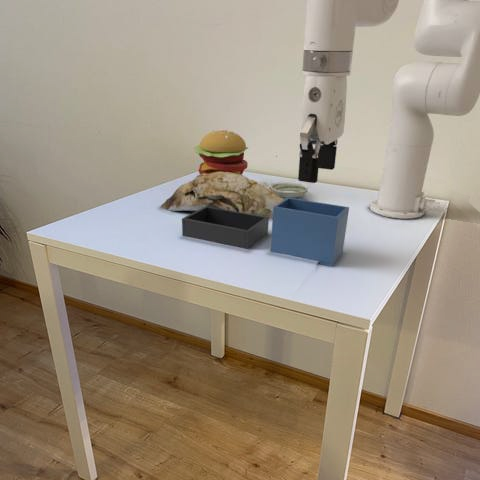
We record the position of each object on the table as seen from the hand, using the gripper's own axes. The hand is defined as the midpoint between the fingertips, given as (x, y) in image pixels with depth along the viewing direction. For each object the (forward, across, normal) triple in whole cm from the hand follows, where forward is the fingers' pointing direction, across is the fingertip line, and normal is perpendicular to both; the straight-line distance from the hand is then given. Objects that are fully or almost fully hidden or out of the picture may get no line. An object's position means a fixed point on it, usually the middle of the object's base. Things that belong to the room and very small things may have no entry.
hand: (316, 174), depth 84 cm
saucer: (+16, +33, +17) cm, 40 cm away
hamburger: (+15, +30, +35) cm, 49 cm away
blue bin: (+15, -1, 0) cm, 15 cm away
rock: (+15, +15, +26) cm, 34 cm away
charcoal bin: (+14, -1, +18) cm, 23 cm away
